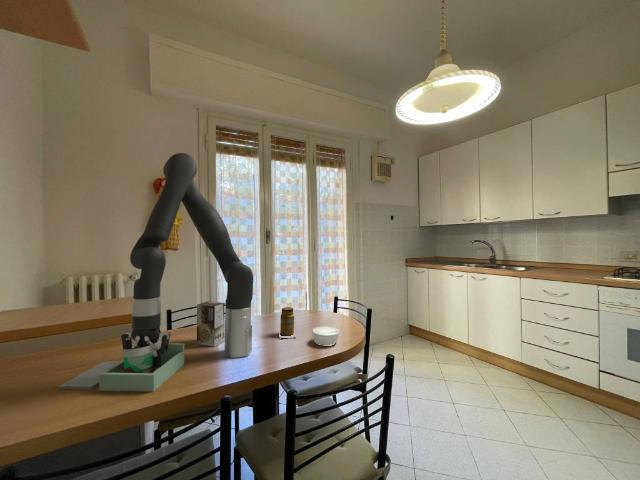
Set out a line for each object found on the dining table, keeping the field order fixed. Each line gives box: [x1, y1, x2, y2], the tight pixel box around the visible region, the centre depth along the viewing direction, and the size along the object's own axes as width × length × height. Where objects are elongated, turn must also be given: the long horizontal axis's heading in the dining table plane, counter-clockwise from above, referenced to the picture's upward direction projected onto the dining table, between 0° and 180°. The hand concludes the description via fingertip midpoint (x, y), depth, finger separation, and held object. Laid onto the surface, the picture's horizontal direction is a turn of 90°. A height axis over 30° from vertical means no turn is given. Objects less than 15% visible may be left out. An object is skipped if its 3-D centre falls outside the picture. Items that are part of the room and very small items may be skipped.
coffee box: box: [196, 301, 225, 348], centre depth 114 cm, size 9×6×16 cm
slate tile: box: [58, 360, 120, 391], centre depth 85 cm, size 9×16×1 cm, turn 0°
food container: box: [120, 337, 161, 373], centre depth 85 cm, size 12×6×10 cm, turn 169°
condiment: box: [278, 306, 295, 340], centre depth 123 cm, size 7×8×12 cm
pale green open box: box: [98, 342, 185, 392], centre depth 85 cm, size 15×17×7 cm
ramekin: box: [312, 326, 340, 345], centre depth 115 cm, size 11×11×5 cm
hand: (145, 367), depth 85 cm, fingers closed on food container, 5 cm apart
